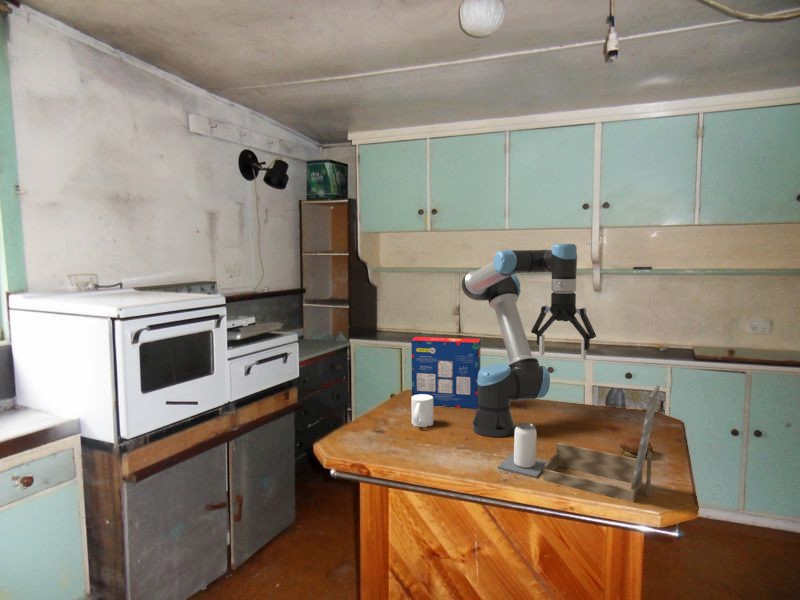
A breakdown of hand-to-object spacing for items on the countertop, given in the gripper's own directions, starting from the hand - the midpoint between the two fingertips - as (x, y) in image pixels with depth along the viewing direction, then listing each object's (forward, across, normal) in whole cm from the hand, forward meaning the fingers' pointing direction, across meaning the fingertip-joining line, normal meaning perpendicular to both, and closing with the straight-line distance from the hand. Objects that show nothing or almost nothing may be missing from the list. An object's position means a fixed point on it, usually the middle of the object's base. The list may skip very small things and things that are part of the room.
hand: (562, 357), depth 169 cm
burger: (+31, +21, +10) cm, 39 cm away
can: (+30, -4, -20) cm, 36 cm away
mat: (+31, -4, -20) cm, 37 cm away
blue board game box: (+31, -56, +21) cm, 68 cm away
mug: (+31, -51, -6) cm, 60 cm away
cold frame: (+31, +17, -19) cm, 40 cm away
